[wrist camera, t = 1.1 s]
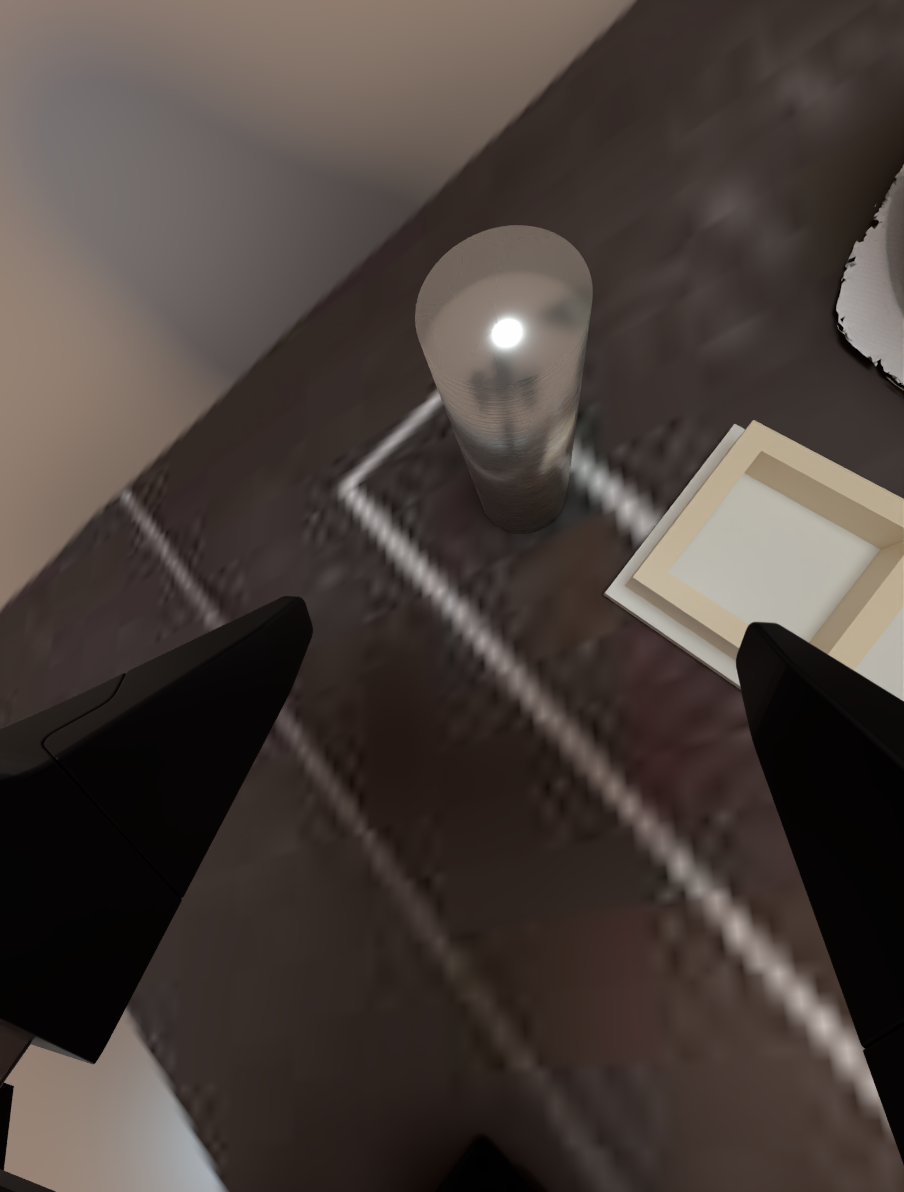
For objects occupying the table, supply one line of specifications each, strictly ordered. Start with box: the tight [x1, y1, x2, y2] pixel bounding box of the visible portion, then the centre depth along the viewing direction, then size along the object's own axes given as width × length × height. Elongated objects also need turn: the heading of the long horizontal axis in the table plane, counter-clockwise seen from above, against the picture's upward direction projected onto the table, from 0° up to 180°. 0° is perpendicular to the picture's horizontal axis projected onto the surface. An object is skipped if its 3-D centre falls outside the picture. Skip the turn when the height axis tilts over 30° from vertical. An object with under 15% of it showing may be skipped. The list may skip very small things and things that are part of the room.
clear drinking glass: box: [415, 225, 593, 534], centre depth 17 cm, size 4×4×12 cm
